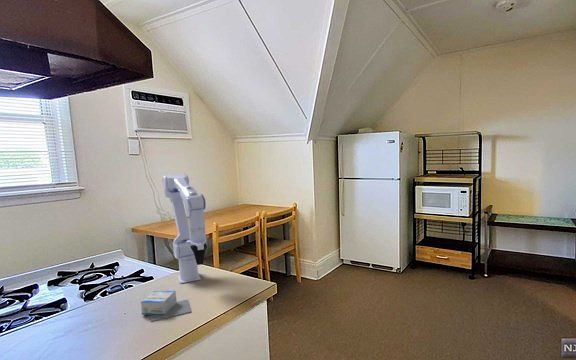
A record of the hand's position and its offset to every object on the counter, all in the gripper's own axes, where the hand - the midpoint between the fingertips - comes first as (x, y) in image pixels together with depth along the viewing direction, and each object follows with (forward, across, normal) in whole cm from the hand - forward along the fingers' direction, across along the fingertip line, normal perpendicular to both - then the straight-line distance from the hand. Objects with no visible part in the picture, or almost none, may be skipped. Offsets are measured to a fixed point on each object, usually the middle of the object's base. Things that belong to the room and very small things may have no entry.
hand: (200, 264), depth 120 cm
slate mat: (+10, +11, -12) cm, 19 cm away
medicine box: (+8, +4, -13) cm, 15 cm away
